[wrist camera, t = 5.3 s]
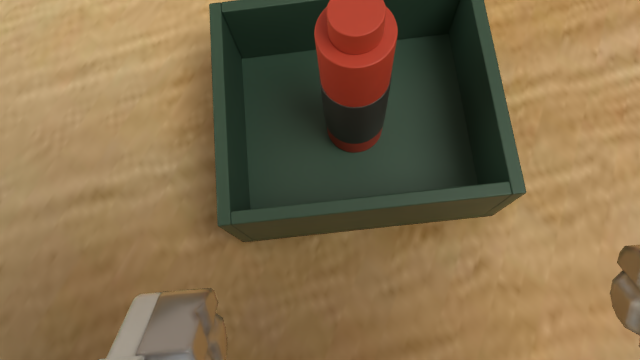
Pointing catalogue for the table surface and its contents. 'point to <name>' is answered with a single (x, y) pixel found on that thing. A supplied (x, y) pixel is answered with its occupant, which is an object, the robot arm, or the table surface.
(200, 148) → the table surface
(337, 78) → the red and grey bottle
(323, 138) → the dark green open box
